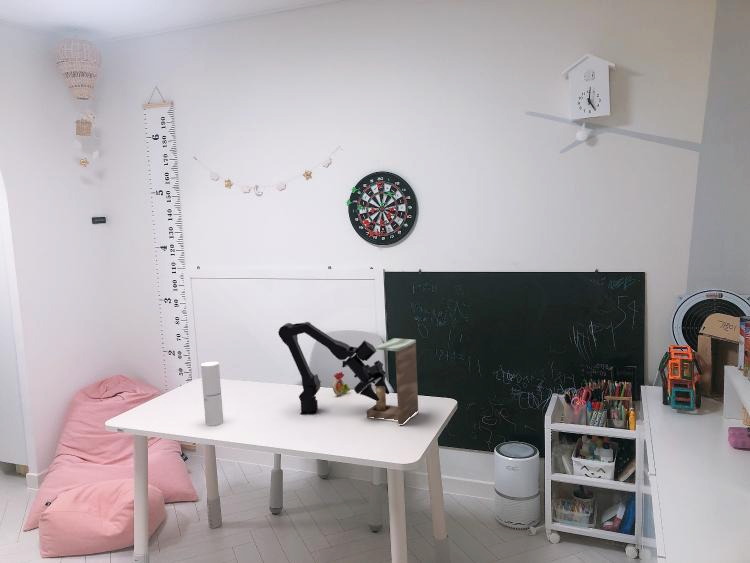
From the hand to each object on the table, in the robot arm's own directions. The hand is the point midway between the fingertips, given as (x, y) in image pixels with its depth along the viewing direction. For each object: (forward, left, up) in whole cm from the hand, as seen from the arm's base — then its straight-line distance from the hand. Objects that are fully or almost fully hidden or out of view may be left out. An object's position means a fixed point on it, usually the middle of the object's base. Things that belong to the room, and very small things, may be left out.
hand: (383, 397), depth 247 cm
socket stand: (+3, -1, -8) cm, 9 cm away
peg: (-1, +1, -8) cm, 8 cm away
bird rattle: (-20, +31, -8) cm, 38 cm away
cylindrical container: (-70, 0, -8) cm, 71 cm away
